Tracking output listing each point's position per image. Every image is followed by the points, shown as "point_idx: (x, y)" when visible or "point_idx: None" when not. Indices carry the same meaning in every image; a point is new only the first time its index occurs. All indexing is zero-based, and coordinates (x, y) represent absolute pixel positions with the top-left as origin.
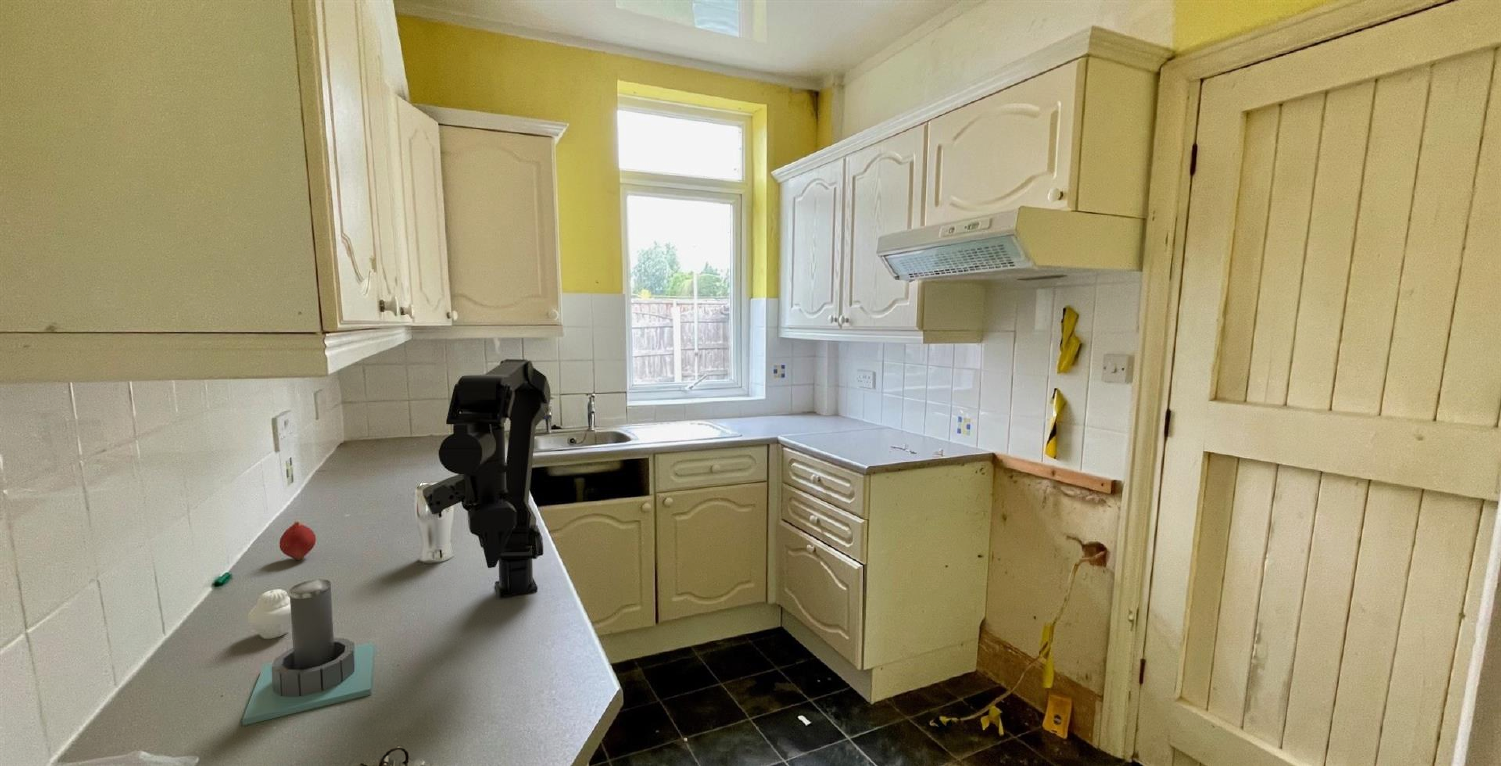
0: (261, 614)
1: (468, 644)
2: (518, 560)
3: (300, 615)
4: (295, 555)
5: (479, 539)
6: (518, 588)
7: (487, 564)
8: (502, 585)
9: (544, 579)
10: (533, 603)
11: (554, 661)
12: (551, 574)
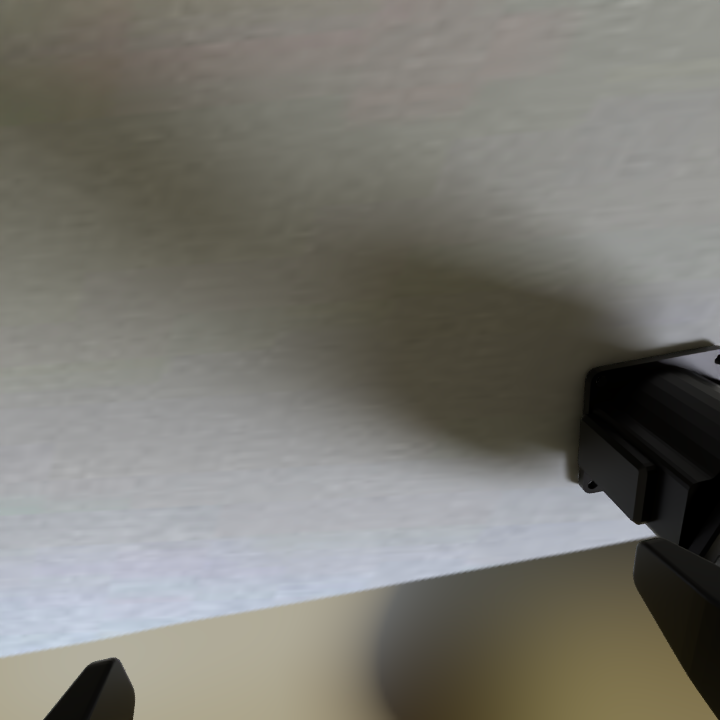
0: None
1: (236, 281)
2: (688, 523)
3: None
4: None
5: (702, 594)
6: (587, 447)
7: (60, 700)
8: (645, 391)
9: None
10: (489, 477)
11: (43, 555)
12: None
